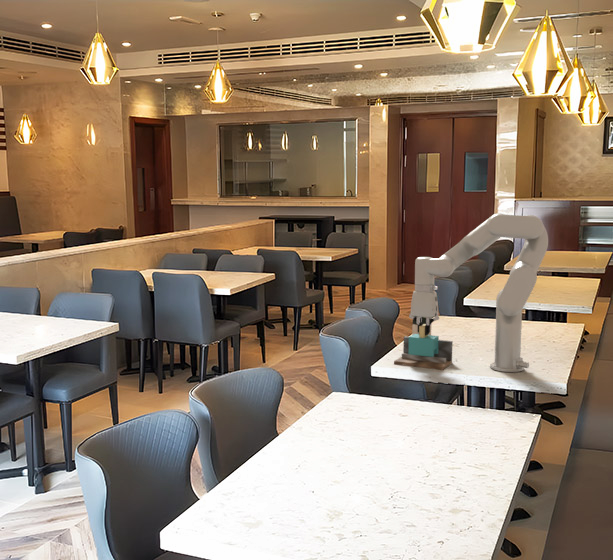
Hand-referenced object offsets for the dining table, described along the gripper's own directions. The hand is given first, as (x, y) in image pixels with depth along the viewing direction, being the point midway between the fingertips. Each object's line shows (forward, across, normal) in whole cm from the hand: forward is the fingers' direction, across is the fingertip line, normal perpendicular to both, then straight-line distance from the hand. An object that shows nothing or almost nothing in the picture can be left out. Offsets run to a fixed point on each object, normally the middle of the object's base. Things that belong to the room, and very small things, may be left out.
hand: (423, 334), depth 280 cm
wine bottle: (+12, +7, -19) cm, 24 cm away
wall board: (+12, 0, 0) cm, 12 cm away
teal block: (+8, 0, 0) cm, 8 cm away
